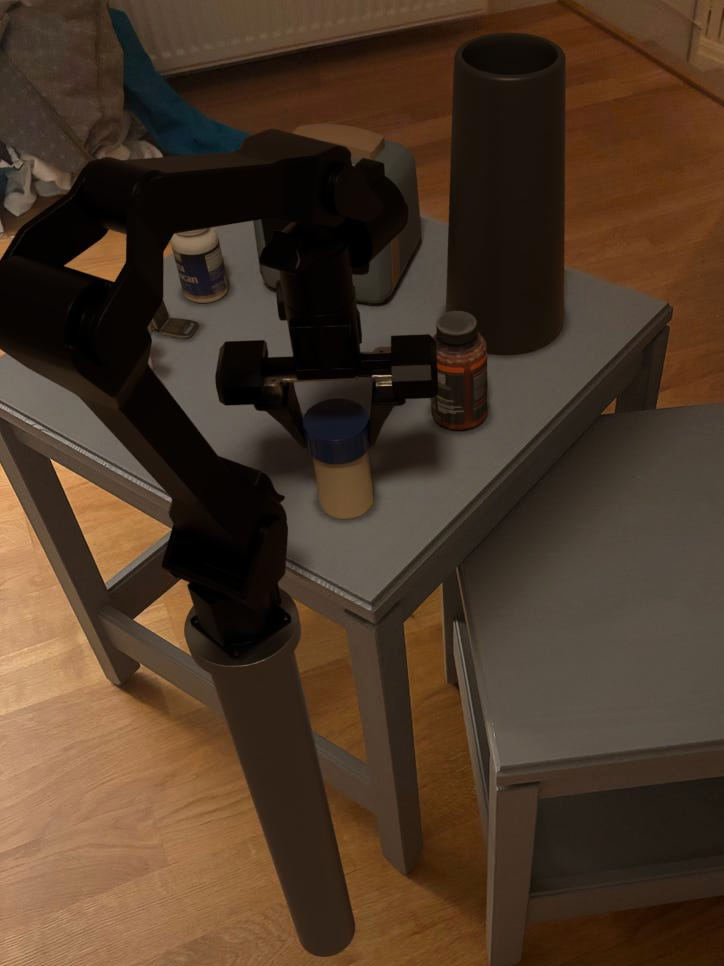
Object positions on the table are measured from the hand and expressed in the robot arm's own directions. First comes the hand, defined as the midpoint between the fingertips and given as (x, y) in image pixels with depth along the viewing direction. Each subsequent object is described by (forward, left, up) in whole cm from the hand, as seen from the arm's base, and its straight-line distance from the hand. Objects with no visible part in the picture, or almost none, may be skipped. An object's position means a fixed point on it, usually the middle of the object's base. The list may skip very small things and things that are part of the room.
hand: (339, 444), depth 96 cm
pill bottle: (+13, +39, -7) cm, 42 cm away
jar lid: (0, 0, 0) cm, 0 cm away
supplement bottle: (+17, +1, -7) cm, 19 cm away
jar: (0, 0, -7) cm, 7 cm away
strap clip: (+5, +37, -7) cm, 38 cm away
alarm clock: (+28, +31, -7) cm, 42 cm away
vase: (+33, +9, -7) cm, 35 cm away
